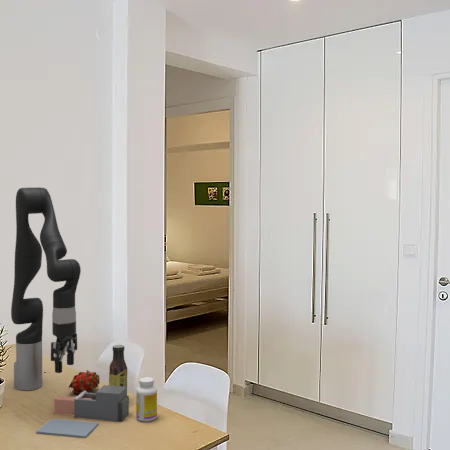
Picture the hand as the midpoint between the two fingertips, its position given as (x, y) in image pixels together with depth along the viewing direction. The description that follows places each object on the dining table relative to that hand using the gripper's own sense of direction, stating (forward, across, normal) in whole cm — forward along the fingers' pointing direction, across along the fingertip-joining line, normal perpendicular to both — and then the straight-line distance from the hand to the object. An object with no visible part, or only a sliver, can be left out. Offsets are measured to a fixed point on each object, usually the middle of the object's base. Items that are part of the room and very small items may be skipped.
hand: (64, 368), depth 188 cm
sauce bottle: (+15, -12, +14) cm, 24 cm away
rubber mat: (+15, +12, +7) cm, 20 cm away
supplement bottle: (+15, -1, +28) cm, 32 cm away
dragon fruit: (+15, -19, -2) cm, 24 cm away
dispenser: (+15, 0, +13) cm, 20 cm away
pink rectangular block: (+15, 0, +3) cm, 15 cm away
